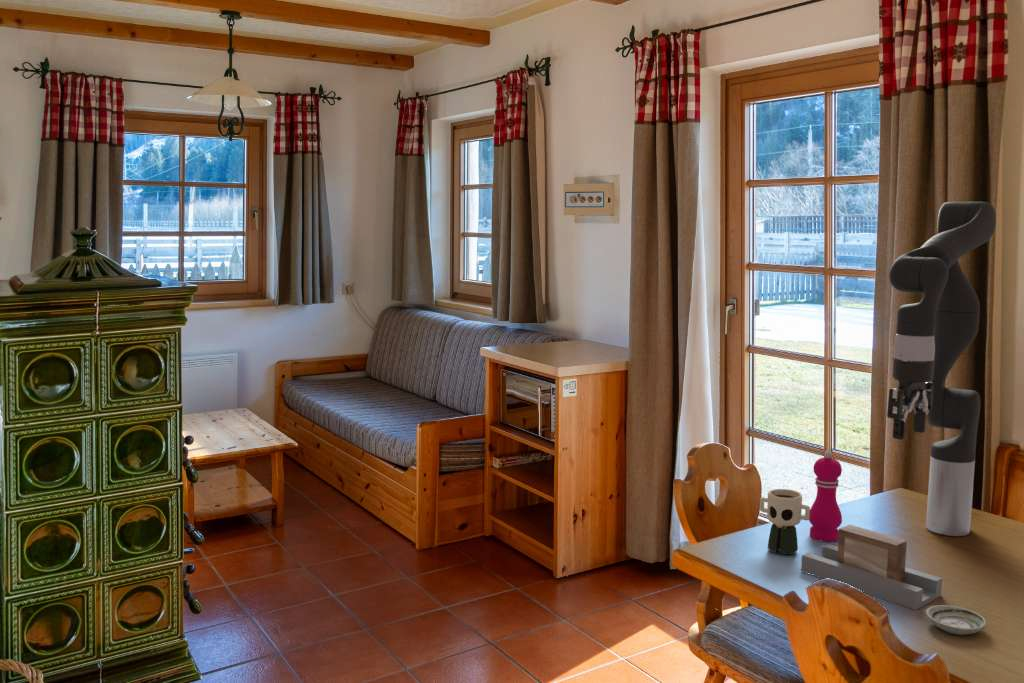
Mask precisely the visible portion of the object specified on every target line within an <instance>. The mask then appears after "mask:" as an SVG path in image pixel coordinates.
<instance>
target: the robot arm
mask: <svg viewBox="0 0 1024 683" xmlns="http://www.w3.org/2000/svg"><path fill="white" fill-rule="evenodd" d="M936 222H937V224H936V234H935V235H933V236H932V237H930V238H928V239H927V241H925V242H924V243H923V244H922V245H921V246H920V248H915V249H913V250H911V251H908V252H905V253H903V254H902V255H900V256H899V257H898V258H896V259H895V260H894V262H893V263H892V265H891V267H890V269H889V274H888V275H889V276H888V277H889V278H888V279H889V282H890V284H891V286H892V287H893V288H894V289H895V290H897V291H899V292H904V293H917V294H918V293H922V294H924V295H923V297H922V298H921V300H920V301H919V302H915V303H908V304H907V303H906V304H902V305H901V306H899V307H898V309H897V313H896V314H897V315H896V318H897V319H896V334H895V340H894V345H893V359H892V379H894V380H895V381H898V387H897V388H892V387H891V388H890V389H889V390H888V391H889V392H888V403H887V413H886V417H887V418H888V419H891V420H893V423H892V424H893V427H892V438H893V439H896V440H904V439H906V430H907V429H906V428H907V426H906V425H907V421H906V420H907V418H908V414H909V413H911V412H912V411H913V412H914V413H913V426H912V427H913V428H912V430H913V432H916V433H920V434H923V433H925V432H926V424H927V423H928V425H930V426H931V427H935V428H944V429H949V430H950V429H952V430H959V431H960V432H961V433H960V434H959V435H957V436H955V437H952V438H950V439H949V438H948V439H944V440H939V441H938V440H937V441H935V442H934V443H932V444H931V447H930V456H929V458H930V459H929V460H930V461H929V476H928V490H927V491H928V492H927V503H926V505H927V506H926V507H927V508H926V517H925V520H926V522H925V528H926V529H927V530H928V531H930V532H933V533H935V534H939V535H942V534H943V535H944V536H951V537H963V536H968V535H969V534H970V533H971V521H972V509H973V493H974V480H975V467H976V466H975V464H976V451H977V450H976V449H977V435H978V427H979V421H980V415H981V414H980V413H981V397H980V394H979V392H977V391H976V390H973V389H965V388H963V389H962V388H953V387H945V386H946V380H947V377H948V375H949V373H950V371H951V370H952V368H953V366H954V365H955V364H956V362H957V361H958V360H959V358H960V357H961V356H962V355H963V354H964V352H965V351H966V350H967V349H968V348H969V347H970V345H971V344H972V343H973V341H974V340H975V338H976V337H977V335H978V332H979V329H980V328H979V326H980V315H981V314H980V311H981V306H980V305H981V304H980V301H979V300H980V299H979V298H978V295H977V293H976V291H975V290H974V288H973V286H972V284H971V283H970V281H969V280H968V278H967V277H966V274H964V271H963V270H962V268H961V265H960V262H959V259H961V258H962V257H963V256H964V255H966V254H968V253H969V252H971V251H973V250H975V249H977V248H978V247H980V246H982V245H983V244H986V243H987V242H988V241H989V240H990V239H991V238H992V237H993V234H994V232H995V228H996V223H997V216H996V210H995V207H994V205H992V204H991V203H989V202H986V201H947V202H943V203H942V205H941V206H940V208H939V211H938V216H937V221H936Z"/></svg>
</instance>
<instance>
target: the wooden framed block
mask: <svg viewBox="0 0 1024 683" xmlns="http://www.w3.org/2000/svg"><path fill="white" fill-rule="evenodd" d="M838 530H839V537H838V540H837V547H838V557H837V562H840V563H843V564H846V565H849V566H852V567H855V568H859V569H862V570H865V571H868V572H871V573H874V574H878V575H881V576H884V577H887V578H890V579H894V580H897V581H900V582H903V583H904V578H905V567H906V560H907V559H906V557H907V543H908V541H907V540H906V539H902V538H898V537H897V536H892V535H888V534H884V533H882V532H878V531H874V530H871V529H867V528H862V527H860V526H856V525H852V524H848V525H845V526H843V527H842V526H841V527H840V528H838Z"/></svg>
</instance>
